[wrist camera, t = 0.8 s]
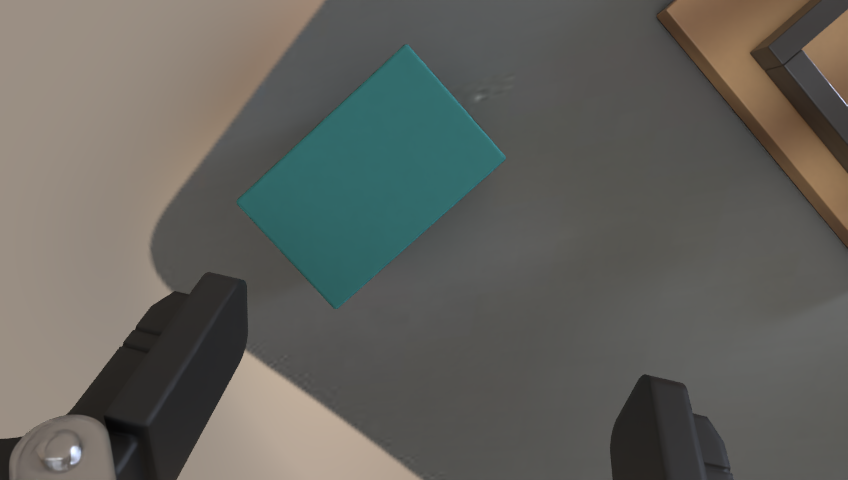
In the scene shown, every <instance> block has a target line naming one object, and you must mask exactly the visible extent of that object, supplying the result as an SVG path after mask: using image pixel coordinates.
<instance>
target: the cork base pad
mask: <svg viewBox="0 0 848 480" xmlns="http://www.w3.org/2000/svg"><path fill="white" fill-rule="evenodd" d="M657 18H658V19H659V20H660V21H661V22H662V24H663V25H664V26H665V27H666V29H667V30H668V31H669V32H670V33H671V35H672V36H673V37H674V38H675V39H676V41H677V42H678V43H679V44H680V46H681V47H682V48H683V49H684V50H685V52H686V53H687V54H688V55H689V56H690V58H691V59H692V60H693V61H694V62H695V64H696V65H697V66H698V67H699V69H700V70H701V71H702V72H703V73H704V75H705V76H706V77H707V78H708V79H709V81H710V82H711V83H712V84H713V85H714V87H715V88H716V89H717V90H718V92H719V93H720V94H721V95H722V96H723V98H724V99H725V100H726V101H727V102H728V104H729V105H730V106H731V107H732V108H733V110H734V111H735V112H736V113H737V115H738V116H739V117H740V118H741V119H742V121H743V122H744V123H745V124H746V125H747V127H748V128H749V129H750V130H751V131H752V133H753V134H754V135H755V136H756V138H757V139H758V140H759V141H760V142H761V144H762V145H763V146H764V147H765V148H766V150H767V151H768V152H769V153H770V154H771V156H772V157H773V158H774V159H775V161H776V162H777V163H778V164H779V165H780V167H781V168H782V169H783V170H784V171H785V173H786V174H787V175H788V176H789V177H790V179H791V180H792V181H793V182H794V184H795V185H796V186H797V187H798V188H799V190H800V191H801V192H802V193H803V194H804V196H805V197H806V198H807V199H808V200H809V202H810V203H811V204H812V205H813V207H814V208H815V209H816V210H817V211H818V213H819V214H820V215H821V216H822V217H823V219H824V220H825V221H826V222H827V223H828V225H829V226H830V227H831V228H832V230H833V231H834V232H835V233H836V234H837V236H838V237H839V238H840V239H841V240H842V242H843V243H844V244H845V245H846V246H847V248H848V0H673V1H672V2H671V3H670V4H669V5H668V6H667V7H666V8H664V9H663V10H662V11H661V12H660V13H659V14H658V15H657Z"/></svg>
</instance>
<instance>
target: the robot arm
mask: <svg viewBox="0 0 848 480" xmlns="http://www.w3.org/2000/svg"><path fill="white" fill-rule="evenodd" d="M247 336H248V318H247V285H246V282H245V281H244V280H241V279H237V278H232V277H228V276H224V275H219V274H215V273H211V272H207V273H205V274H204V275H203V276H202V278H201V279H200V280H199V282H198V283H197V285H196V286H195V287H194V289H193V290H192V292H191V293H190V294H185V293H180V292H176V291H174V292H173V293H171V294H170V295H168V296H167V297H165V298H163V299H162V300H160V301H159V302H157V303H156V304H154V305H153V306H151V307H150V309H149V310H148V311H147V313H146V314H145V315H144V316H143V318H142V319H141V320H140V322H139V323H138V324H137V326H136V329H135V330H133V331H132V332H131V333H130V335H129V336H128V337H127V338H126V340H125V341H124V342H123V346H122V347H119V349H118V350H117V351H116V353H115V354H114V355H113V357H112V358H111V359H110V361H109V362H108V363H107V364H106V366H105V367H104V368H103V370H102V371H101V372H100V373H99V375H98V376H97V377H96V379H95V380H94V381H93V383H92V384H91V385H90V386H89V388H88V389H87V390H86V392H85V393H84V394H83V395H82V397H81V398H80V399H79V401H78V402H77V403H76V405H75V406H74V407H73V408H72V409H71V410H70V412H69V413H68V414H66V415H65V416H60V417H56V418H53V419H50V420H48V421H45V422H43V423H41V424H40V425H38V426H36V427H34V428H33V429H32V430H31V431H29V432H28V433H26V434H25V435H24V436H23V437H18V438H9V439H0V480H176V479H177V478H178V476H179V474H180V472H181V470H182V468H183V467H184V465H185V463H186V461H187V459H188V457H189V455H190V453H191V452H192V450H193V448H194V446H195V444H196V443H197V441H198V439H199V437H200V435H201V433H202V431H203V429H204V428H205V426H206V424H207V422H208V420H209V418H210V416H211V415H212V413H213V411H214V409H215V407H216V405H217V404H218V402H219V400H220V398H221V396H222V394H223V393H224V391H225V389H226V387H227V385H228V383H229V381H230V380H231V378H232V376H233V374H234V372H235V370H236V369H237V367H238V365H239V363H240V361H241V359H242V356H243V353H244V350H245V347H246V342H247ZM610 454H611V465H612V477H613V480H734V479H733V475H732V473H730V469H731V468H730V464H729V460H728V456H727V453H726V449H725V445H724V442H723V440H722V439H721V437H720V436H719V434H718V433H717V431H716V430H715V428H714V427H713V425H712V424H711V422H710V421H709V419H708V418H707V417H705V416H701V415H697V414H693V413H692V408H691V404H690V400H689V395H688V391H687V388H686V386H685V385H684V384H683V383H680V382H675V381H671V380H667V379H662V378H658V377H654V376H649V375H642V376H641V377H640V378H639V380H638V382H637V383H636V385H635V387H634V389H633V391H632V392H631V394H630V396H629V398H628V400H627V401H626V403H625V405H624V407H623V409H622V410H621V412H620V414H619V416H618V418H617V419H616V421H615V424H614V427H613V431H612V435H611V443H610Z"/></svg>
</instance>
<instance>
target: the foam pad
mask: <svg viewBox="0 0 848 480" xmlns="http://www.w3.org/2000/svg"><path fill="white" fill-rule="evenodd" d="M505 159H506V157H505V155H504V154H503V153H502V152H501V151H500V149H499V148H498V147H497V146H496V145H495V144H494V143H493V141H492V140H491V139H490V138H489V137H488V136H487V135H486V133H485V132H484V131H483V130H482V129H481V128H480V127H479V125H478V124H477V123H476V122H475V121H474V120H473V119H472V117H471V116H470V115H469V114H468V113H467V112H466V111H465V109H464V108H463V107H462V106H461V105H460V104H459V102H458V101H457V100H456V99H455V98H454V97H453V96H452V94H451V93H450V92H449V91H448V90H447V89H446V88H445V86H444V85H443V84H442V83H441V82H440V81H439V80H438V78H437V77H436V76H435V75H434V74H433V73H432V72H431V70H430V69H429V68H428V67H427V66H426V65H425V64H424V62H423V61H422V60H421V59H420V58H419V57H418V55H417V54H416V53H415V52H414V51H413V50H412V49H411V47H410V46H409V45H407V44H406V45H404V46H403V47H401V48H400V49H399V50H398V51H397V52H396V53H395V54H394V55H393V56H392V57H391V58H390V59H389V60H387V61H386V62H385V63H384V64H383V65H382V66H381V67H380V68H379V69H378V70H377V71H376V72H374V73H373V74H372V75H371V76H370V77H369V78H368V79H367V80H366V81H365V82H364V83H363V84H362V85H360V86H359V87H358V88H357V89H356V90H355V91H354V92H353V93H352V94H351V95H350V96H349V97H348V98H346V99H345V100H344V101H343V102H342V103H341V104H340V105H339V106H338V107H337V108H336V109H335V110H334V111H332V112H331V113H330V114H329V115H328V116H327V117H326V118H325V119H324V120H323V121H322V122H321V123H320V124H318V125H317V126H316V127H315V128H314V129H313V130H312V131H311V132H310V133H309V134H308V135H307V136H305V137H304V138H303V139H302V140H301V141H300V142H299V143H298V144H297V145H296V146H295V147H294V148H293V149H291V150H290V151H289V152H288V153H287V154H286V155H285V156H284V157H283V158H282V159H281V160H280V161H279V162H277V163H276V164H275V165H274V166H273V167H272V168H271V169H270V170H269V171H268V172H267V173H266V174H265V175H263V176H262V177H261V178H260V179H259V180H258V181H257V182H256V183H255V184H254V185H253V186H252V187H251V188H249V189H248V190H247V191H246V192H245V193H244V194H243V195H242V196H241V197H240V198H239V199H238V200H237V205H238V206H239V207H240V208H241V209H242V210H243V211H244V212H245V213H246V214H247V215H248V216H249V217H250V219H251V220H252V221H253V222H254V223H255V224H256V225H257V226H258V227H259V228H260V229H261V230H262V232H263V233H264V234H265V235H266V236H267V237H268V238H269V239H270V240H271V241H272V242H273V243H274V244H275V246H276V247H277V248H278V249H279V250H280V251H281V252H282V253H283V254H284V255H285V256H286V257H287V258H288V260H289V261H290V262H291V263H292V264H293V265H294V266H295V267H296V268H297V269H298V270H299V271H300V273H301V274H302V275H303V276H304V277H305V278H306V279H307V280H308V281H309V282H310V283H311V284H312V285H313V287H314V288H315V289H316V290H317V291H318V292H319V293H320V294H321V295H322V296H323V297H324V298H325V299H326V301H327V302H328V303H329V304H330V305H331V306H332V307H333V308H334V309H338V308H339V307H340V306H341V305H342V304H343V303H345V302H346V301H347V300H348V299H349V298H350V297H351V296H352V295H354V294H355V293H356V292H357V291H358V290H359V289H360V288H361V287H363V286H364V285H365V284H366V283H367V282H368V281H369V280H370V279H372V278H373V277H374V276H375V275H376V274H377V273H378V272H379V271H381V270H382V269H383V268H384V267H385V266H386V265H387V264H389V263H390V262H391V261H392V260H393V259H394V258H395V257H396V256H398V255H399V254H400V253H401V252H402V251H403V250H404V249H405V248H407V247H408V246H409V245H410V244H411V243H412V242H413V241H414V240H416V239H417V238H418V237H419V236H420V235H421V234H422V233H423V232H425V231H426V230H427V229H428V228H429V227H430V226H431V225H432V224H434V223H435V222H436V221H437V220H438V219H439V218H440V217H441V216H443V215H444V214H445V213H446V212H447V211H448V210H449V209H450V208H452V207H453V206H454V205H455V204H456V203H457V202H458V201H459V200H461V199H462V198H463V197H464V196H465V195H466V194H467V193H468V192H470V191H471V190H472V189H473V188H474V187H475V186H476V185H477V184H479V183H480V182H481V181H482V180H483V179H484V178H485V177H486V176H488V175H489V174H490V173H491V172H492V171H493V170H494V169H495V168H497V167H498V166H499V165H500V164H501V163H502V162H503V161H505Z"/></svg>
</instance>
